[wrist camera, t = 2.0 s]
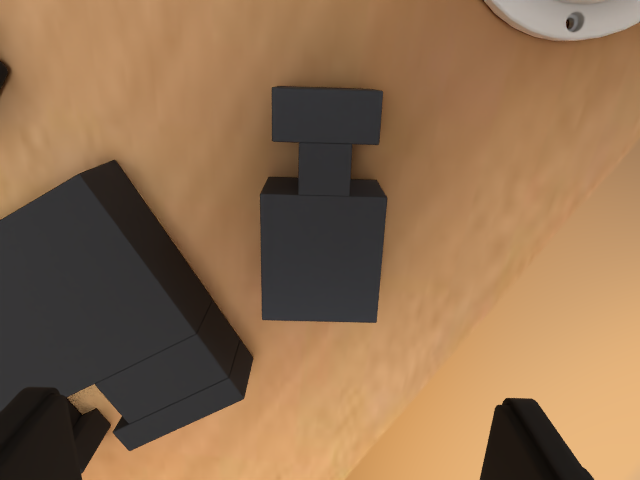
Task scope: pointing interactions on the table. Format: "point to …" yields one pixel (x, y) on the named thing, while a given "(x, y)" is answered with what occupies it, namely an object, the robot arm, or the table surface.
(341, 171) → the plug pad
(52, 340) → the base pad
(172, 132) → the table surface
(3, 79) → the battery
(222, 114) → the table surface
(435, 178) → the table surface
